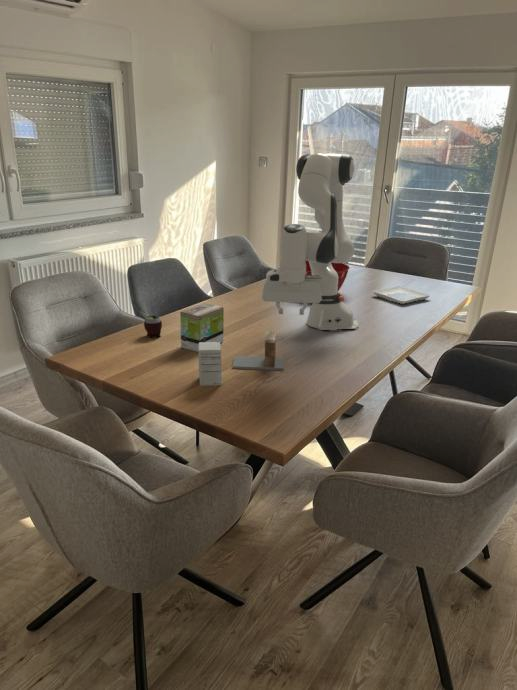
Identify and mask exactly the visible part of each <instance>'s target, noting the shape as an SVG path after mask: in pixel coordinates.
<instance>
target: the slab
mask: <svg viewBox="0 0 517 690" xmlns="http://www.w3.org/2000/svg"><path fill="white" fill-rule="evenodd" d="M276 344H277V332H276V331H266V332H265V338H264V357H265V366H269V367H275V357H276V346H277V345H276Z"/></svg>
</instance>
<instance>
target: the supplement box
mask: <svg viewBox="0 0 517 690" xmlns="http://www.w3.org/2000/svg"><path fill="white" fill-rule="evenodd" d="M197 353H198V371H199V372H198V373H199V375H198V376H199V386H201V387H202V386H203V387H204V386H205V387H207V386H222V385H223V382H222V381H223V380H222V379H223V376H222V374H223V373H222V371H223V370H222V369H223V368H222V366H223V365H222V364H223V363H222V346H221V343H220V342H199V347H198V352H197Z"/></svg>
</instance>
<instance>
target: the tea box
mask: <svg viewBox="0 0 517 690" xmlns="http://www.w3.org/2000/svg"><path fill="white" fill-rule="evenodd" d="M224 311H225V310H224V306H222V305H221V306H219V305H214V304H211V303H205V302H203V303H201V304H197V305H195V306H193V307H190V308H187V309H184V310H180V311H179V313H180V347H181V348H183V349H186V350H188V351H193V352H196V353H198V347H199V342H220V344H221V343H223V342H224V314H225V313H224Z"/></svg>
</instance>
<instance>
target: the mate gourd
mask: <svg viewBox="0 0 517 690" xmlns="http://www.w3.org/2000/svg"><path fill="white" fill-rule="evenodd" d="M165 301H166V298H165V299H163V300H162V301H161V302H160V303H159V305H158V309H157V313H156V315H149V316H146V317H145V319H144V323H143V326H144V330H145V331H146V333H147V334H146V336H147V335H149V336H148V339H149V338H151V339H152V337H153V338H162V335H161V334H162V333H161V332H162V327H163V323H162V319H161V317H160V316H158V315H159V312H160V308H161V307H162V304H163V303H164V302H165ZM154 336H155V337H154Z"/></svg>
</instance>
